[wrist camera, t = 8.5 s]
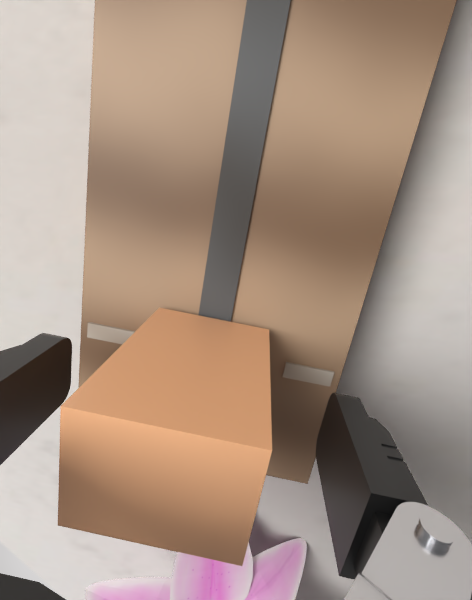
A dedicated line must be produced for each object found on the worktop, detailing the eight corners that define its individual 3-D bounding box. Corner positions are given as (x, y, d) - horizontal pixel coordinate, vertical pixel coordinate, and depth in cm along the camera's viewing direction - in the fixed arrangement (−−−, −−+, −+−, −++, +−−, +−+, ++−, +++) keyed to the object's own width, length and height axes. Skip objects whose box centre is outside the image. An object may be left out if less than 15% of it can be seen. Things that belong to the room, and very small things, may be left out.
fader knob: (159, 307, 12) (61, 406, 6) (269, 329, 12) (272, 450, 6) (151, 380, 13) (58, 525, 7) (253, 401, 13) (242, 566, 7)
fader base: (146, -213, 10) (107, -347, 8) (476, -165, 10) (546, -287, 7) (103, 400, 17) (75, 436, 14) (301, 442, 16) (307, 485, 14)
